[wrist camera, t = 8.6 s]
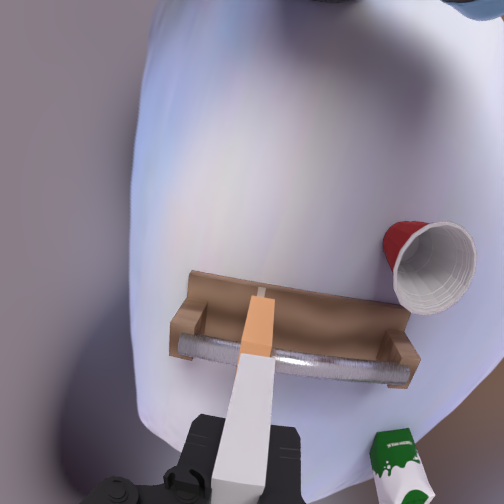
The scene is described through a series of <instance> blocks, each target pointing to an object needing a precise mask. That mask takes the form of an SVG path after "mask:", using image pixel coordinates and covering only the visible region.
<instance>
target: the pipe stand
mask: <svg viewBox="0 0 504 504" xmlns="http://www.w3.org/2000/svg"><path fill="white" fill-rule="evenodd" d="M251 296H258V297H264V298H270V299H275V306H274V323H273V338H272V348H279V349H285V350H292V351H298V352H306V353H313V354H320V355H328V356H337V357H345V358H355V359H364V360H375V361H387V362H398V363H399V364H402V365H409V366H410V377H409V380H408V382H407V383H406V384H405V385H390V384H387V386H388V388H400V389H407V388H408V386H409V384H410V382H411V380H412V378H413V376H414V374H415V371H416V369H417V367H418V365H419V363H420V361H421V358H420V357H419V355H418V353H417V352H416V350H415V348H414V347H413V345H412V344H411V342H410V340H409V339H408V337H407V336H406V334H405V332H404V330H405V328H406V325H407V322H408V319H409V317H410V314H411V312H410V311H409V310H407V309H406V308H405V307H403V306H402V305H395V304H389V303H382V302H375V301H368V300H362V299H355V298H349V297H342V296H336V295H330V294H324V293H317V292H311V291H305V290H299V289H293V288H287V287H281V286H276V285H270V284H264V283H258V282H253V281H247V280H241V279H236V278H230V277H225V276H219V275H214V274H209V273H203V272H198V271H193V270H192V271H191V272H190V273H189V281H188V292H187V298H186V300H185V301H184V303H183V304H182V305H181V307H180V308H179V310H178V311H177V313H176V314H175V316H174V317H173V319H172V320H171V322H170V343H169V356H173V357H177V358H181V359H186V360H190V361H192V359H193V357H190V356H185V355H181V354H178V342H179V338H180V335H181V333H182V332H184V333H188V334H193V335H194V334H195V333H198V334H202V335H207V336H212V337H217V338H222V339H227V340H232V341H238V342H241V340H242V335H243V331H244V327H245V322H246V318H247V314H248V309H249V305H250V300H251Z"/></svg>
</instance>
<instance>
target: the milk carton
mask: <svg viewBox="0 0 504 504" xmlns="http://www.w3.org/2000/svg"><path fill="white" fill-rule="evenodd" d="M370 459H371V465H372V470H373V475H374V480H375V484H376V489H377V494H378V499H379V504H429V503H430V501H431V500H432V499H433V497H434V496H435V494H434V492H433V490H432V488H431V487H430V485H429V482H428V480H427V477H426V474H425V471H424V468H423V465H422V462H421V459H420V457H419V454H418V451H417V448H416V445H415V443H414V440H413V438H412V435H411V432H410V430H409V428H406V429H400V430H393V431H385V432H377V434H376V437H375V440H374V443H373V445H372V448H371V451H370Z"/></svg>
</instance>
